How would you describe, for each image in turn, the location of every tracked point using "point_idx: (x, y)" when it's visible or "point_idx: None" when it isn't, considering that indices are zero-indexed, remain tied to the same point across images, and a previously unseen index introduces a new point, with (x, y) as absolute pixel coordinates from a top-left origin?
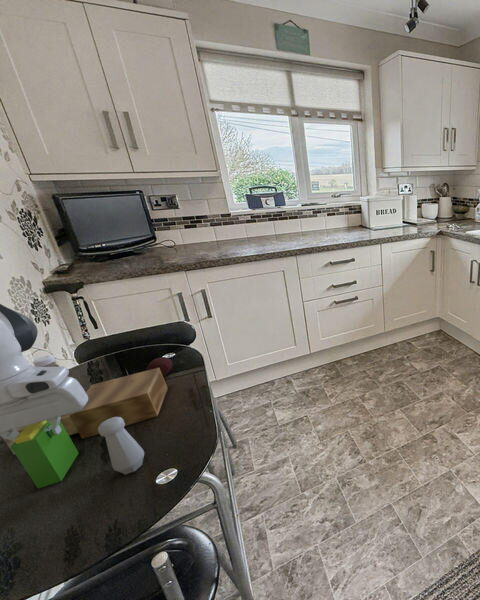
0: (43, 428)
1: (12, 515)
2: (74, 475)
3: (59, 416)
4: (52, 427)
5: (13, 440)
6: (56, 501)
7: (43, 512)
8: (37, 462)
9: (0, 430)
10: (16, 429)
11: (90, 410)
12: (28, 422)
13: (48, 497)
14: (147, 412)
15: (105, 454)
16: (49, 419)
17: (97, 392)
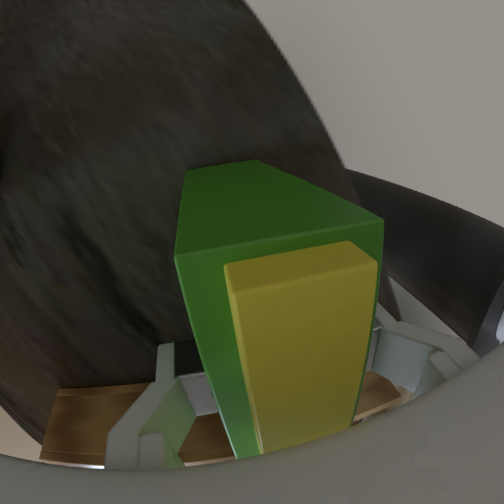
0: (221, 396)
1: (271, 59)
2: (150, 186)
3: (43, 463)
4: (158, 392)
5: (396, 322)
6: (144, 67)
7: (164, 32)
8: (231, 183)
9: (493, 374)
10: (406, 399)
11: (198, 455)
12: (301, 476)
13: (187, 96)
14: (69, 404)
15: (99, 268)
16: (143, 467)
17: None
